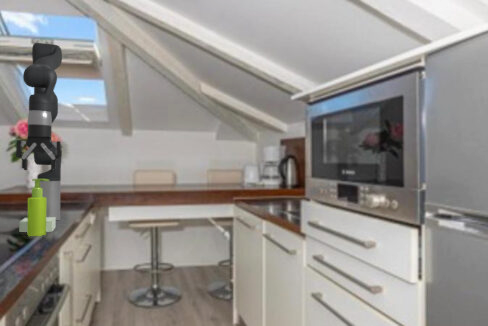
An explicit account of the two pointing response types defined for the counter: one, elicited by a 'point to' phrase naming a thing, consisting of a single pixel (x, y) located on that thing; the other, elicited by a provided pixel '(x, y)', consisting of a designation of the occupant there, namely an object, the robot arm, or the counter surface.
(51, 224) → the plate
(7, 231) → the counter surface
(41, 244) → the counter surface
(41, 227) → the soap dispenser
